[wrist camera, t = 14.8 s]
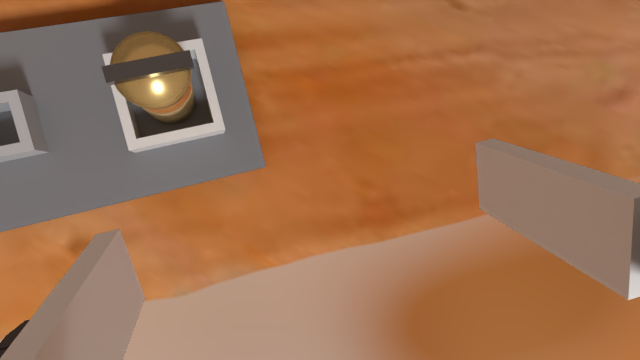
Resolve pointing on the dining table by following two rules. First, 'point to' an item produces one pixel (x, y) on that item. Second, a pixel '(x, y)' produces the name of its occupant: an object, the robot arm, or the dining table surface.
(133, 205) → the dining table surface
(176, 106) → the amber translucent cylinder
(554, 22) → the dining table surface
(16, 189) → the board
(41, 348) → the robot arm
